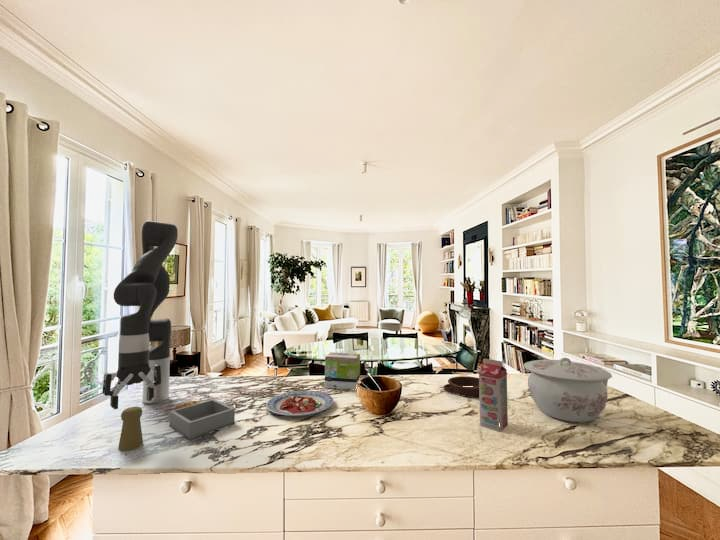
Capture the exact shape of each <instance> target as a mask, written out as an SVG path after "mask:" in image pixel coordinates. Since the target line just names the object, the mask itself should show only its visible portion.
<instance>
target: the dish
mask: <svg viewBox="0 0 720 540" xmlns="http://www.w3.org/2000/svg"><path fill="white" fill-rule="evenodd" d="M463 386H473V387H463ZM443 390H444V391H445V392H450V393H454V394H456V393H457V394H456V395H458V394H460V395H459V396H461V395H465V396H464V397H466V396H479V377H474V376H467V375H466V376H462V375H461V376H453V377H449V378H448V379H447V384H444V385H443Z"/></svg>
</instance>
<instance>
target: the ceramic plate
mask: <svg viewBox="0 0 720 540" xmlns="http://www.w3.org/2000/svg"><path fill="white" fill-rule="evenodd" d="M316 400H317V401H316ZM318 402H319V403H320V404H319V403H318ZM333 404H334V398H333V397H332V396H331V395H330V394H327V393H324V392H322V391H321V392H320V391H316V390H295V391H288V392H285V393H280V394H278V395H275V396H273V397H271V398H270V399H268V401H266V404H265V407H266V409H267V410H268V411H270V412H271V413H274V414H276V415H281V416H287V417H288V416H290V417H291V416H292V417H293V416H294V417H295V416H297V417H298V416H308V415H313V414H316V413H320V412H323V411H325V410H327V409H329V408H330V407H331V406H332V405H333Z"/></svg>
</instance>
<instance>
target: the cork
mask: <svg viewBox="0 0 720 540" xmlns="http://www.w3.org/2000/svg"><path fill="white" fill-rule="evenodd" d="M142 415H143V409H142V408H141V407H140V406H130V407H127V408H125V409H123V410H122V412H121V413H120V419H121V421H122V425H121V432H120V436H119V444H118V447H117V449H118V451H120V452H127V451H129V452H130V451H132V450H136V449H137V448H138V449H139V448H140V447H141V446H143V445H144V440H143V439H144V438H143V432H142V423H141V417H142Z"/></svg>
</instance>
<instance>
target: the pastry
mask: <svg viewBox="0 0 720 540" xmlns="http://www.w3.org/2000/svg"><path fill="white" fill-rule="evenodd" d="M197 403H198V401H197V400H193V401H187V402H184V403H182V404H180V405H179V406H175V407H173V408H172V409H170V411H172V410H176V409H179V408H183V407H186V406H190V405H194V404H197ZM168 416H170V412H169V415H168Z"/></svg>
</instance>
